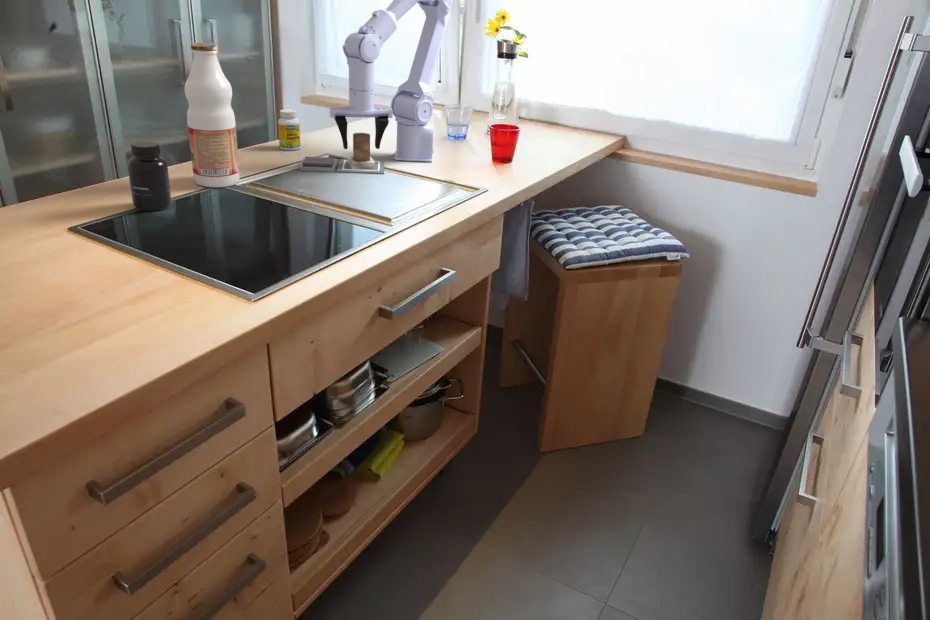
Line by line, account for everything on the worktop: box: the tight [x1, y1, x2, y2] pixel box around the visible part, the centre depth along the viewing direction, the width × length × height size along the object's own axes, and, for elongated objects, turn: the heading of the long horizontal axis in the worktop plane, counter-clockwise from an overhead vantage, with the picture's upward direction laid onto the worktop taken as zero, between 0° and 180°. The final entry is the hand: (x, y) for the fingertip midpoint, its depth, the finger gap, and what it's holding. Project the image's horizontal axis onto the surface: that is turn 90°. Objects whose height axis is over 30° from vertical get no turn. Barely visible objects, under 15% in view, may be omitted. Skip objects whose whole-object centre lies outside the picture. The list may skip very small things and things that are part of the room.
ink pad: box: [299, 156, 338, 173], centre depth 163 cm, size 8×7×2 cm
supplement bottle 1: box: [127, 140, 172, 212], centre depth 128 cm, size 7×7×12 cm
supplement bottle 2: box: [277, 108, 301, 151], centre depth 175 cm, size 5×5×10 cm
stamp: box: [348, 132, 375, 169], centre depth 164 cm, size 6×6×8 cm
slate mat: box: [336, 158, 385, 175], centre depth 166 cm, size 11×11×1 cm
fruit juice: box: [184, 42, 241, 188], centre depth 141 cm, size 9×9×28 cm
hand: (361, 148), depth 164 cm, fingers open, 7 cm apart
